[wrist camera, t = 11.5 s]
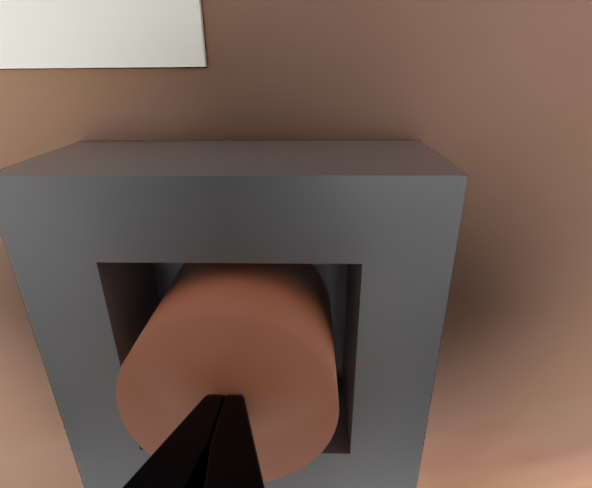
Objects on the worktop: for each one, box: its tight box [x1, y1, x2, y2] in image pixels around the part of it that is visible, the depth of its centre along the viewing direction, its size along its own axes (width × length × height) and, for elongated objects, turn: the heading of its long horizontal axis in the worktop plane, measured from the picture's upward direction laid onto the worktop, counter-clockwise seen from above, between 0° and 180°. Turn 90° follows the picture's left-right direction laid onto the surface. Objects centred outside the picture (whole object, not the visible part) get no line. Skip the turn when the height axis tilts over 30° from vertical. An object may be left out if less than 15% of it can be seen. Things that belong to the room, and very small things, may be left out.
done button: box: [116, 263, 339, 482], centre depth 11 cm, size 5×5×4 cm
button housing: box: [0, 140, 468, 488], centre depth 12 cm, size 10×10×4 cm
